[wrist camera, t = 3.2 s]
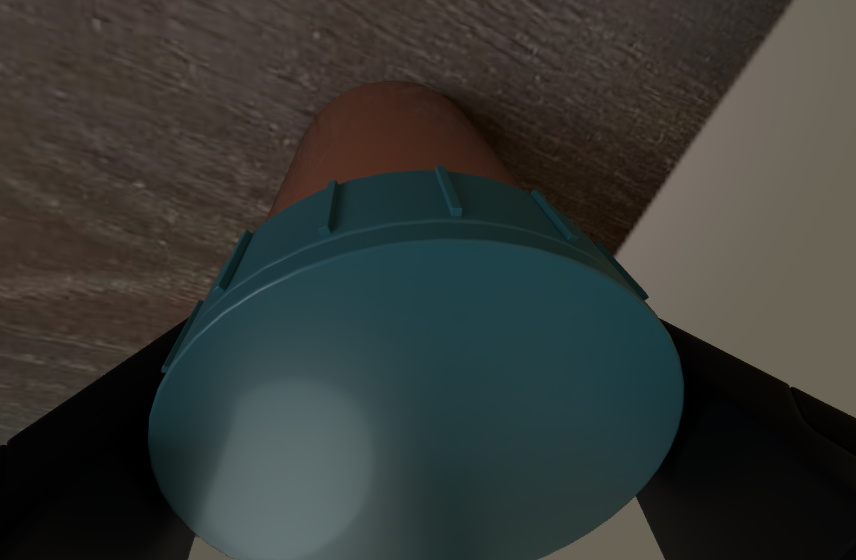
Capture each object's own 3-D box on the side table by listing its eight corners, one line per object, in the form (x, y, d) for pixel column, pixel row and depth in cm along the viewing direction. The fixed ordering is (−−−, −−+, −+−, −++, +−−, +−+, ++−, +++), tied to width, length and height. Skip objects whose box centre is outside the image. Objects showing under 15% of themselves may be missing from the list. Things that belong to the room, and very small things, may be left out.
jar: (500, 240, 16) (636, 501, 8) (335, 283, 16) (300, 580, 8) (469, 55, 12) (653, 174, 4) (262, 112, 13) (75, 325, 5)
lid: (655, 398, 8) (722, 493, 7) (358, 523, 10) (356, 629, 8) (530, 58, 5) (606, 90, 3) (91, 319, 6) (-5, 433, 5)
